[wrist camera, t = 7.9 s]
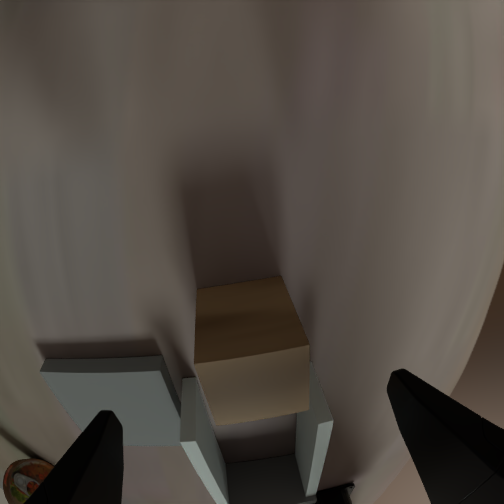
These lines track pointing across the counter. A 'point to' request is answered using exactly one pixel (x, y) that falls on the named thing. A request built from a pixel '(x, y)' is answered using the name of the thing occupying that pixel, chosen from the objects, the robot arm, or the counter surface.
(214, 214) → the counter surface
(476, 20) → the counter surface
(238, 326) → the block
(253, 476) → the grey open rectangular frame
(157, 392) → the tile
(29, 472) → the tin
